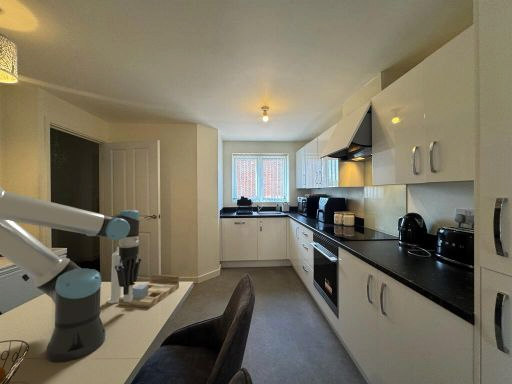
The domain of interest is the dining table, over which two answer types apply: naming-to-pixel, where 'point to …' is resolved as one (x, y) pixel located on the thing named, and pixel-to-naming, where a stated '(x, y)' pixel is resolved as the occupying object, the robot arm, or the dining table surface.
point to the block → (140, 291)
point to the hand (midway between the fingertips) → (127, 301)
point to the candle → (115, 280)
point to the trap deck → (155, 291)
